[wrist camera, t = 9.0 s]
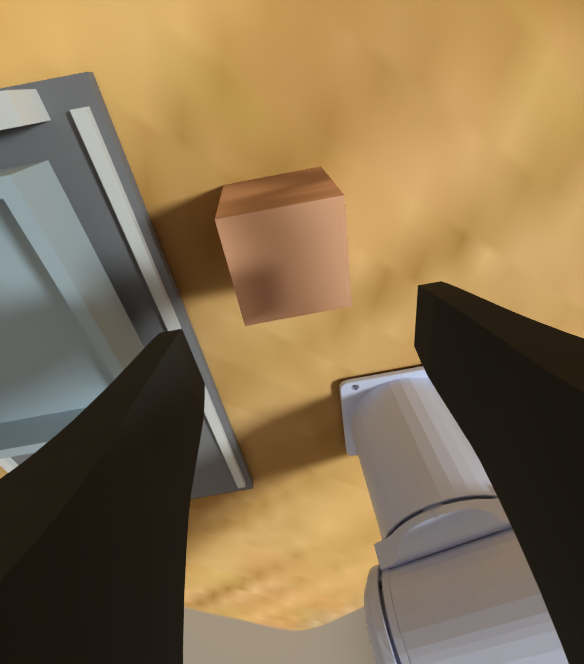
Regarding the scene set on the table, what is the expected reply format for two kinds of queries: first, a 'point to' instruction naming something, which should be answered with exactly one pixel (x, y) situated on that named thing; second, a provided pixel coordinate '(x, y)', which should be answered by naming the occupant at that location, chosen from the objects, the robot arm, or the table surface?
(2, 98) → the track
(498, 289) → the table surface
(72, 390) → the light blue storage bin
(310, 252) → the block
